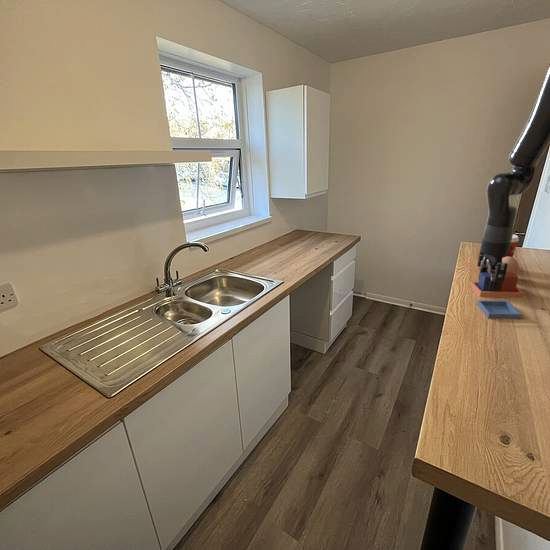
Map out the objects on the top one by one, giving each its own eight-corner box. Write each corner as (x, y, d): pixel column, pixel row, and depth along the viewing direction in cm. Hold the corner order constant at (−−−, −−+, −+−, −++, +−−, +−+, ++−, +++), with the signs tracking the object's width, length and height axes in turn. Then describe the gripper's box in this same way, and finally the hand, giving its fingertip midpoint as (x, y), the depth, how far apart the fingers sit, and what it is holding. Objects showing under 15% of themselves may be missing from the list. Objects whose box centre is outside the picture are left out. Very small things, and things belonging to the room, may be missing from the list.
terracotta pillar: (508, 288, 102) (512, 272, 100) (514, 293, 98) (518, 277, 96) (494, 288, 103) (498, 272, 100) (500, 293, 99) (504, 277, 97)
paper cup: (514, 275, 112) (523, 238, 106) (489, 273, 114) (497, 238, 109) (507, 267, 118) (515, 232, 113) (484, 266, 121) (491, 232, 116)
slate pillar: (490, 288, 103) (493, 272, 101) (495, 293, 99) (499, 277, 97) (477, 288, 104) (480, 272, 102) (482, 293, 100) (485, 277, 98)
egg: (488, 278, 111) (493, 255, 108) (503, 275, 112) (508, 252, 109) (505, 285, 105) (511, 261, 101) (521, 281, 106) (527, 258, 103)
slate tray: (506, 306, 93) (507, 300, 92) (520, 320, 85) (522, 314, 84) (476, 305, 94) (477, 300, 94) (487, 319, 87) (489, 313, 86)
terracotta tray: (509, 286, 104) (510, 281, 103) (522, 297, 96) (523, 292, 95) (470, 286, 106) (471, 281, 106) (479, 297, 99) (480, 292, 98)
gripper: (522, 245, 87) (510, 295, 94) (499, 232, 100) (490, 277, 107) (493, 245, 89) (483, 295, 95) (474, 232, 102) (466, 276, 108)
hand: (487, 285), depth 101 cm, fingers open, 7 cm apart
